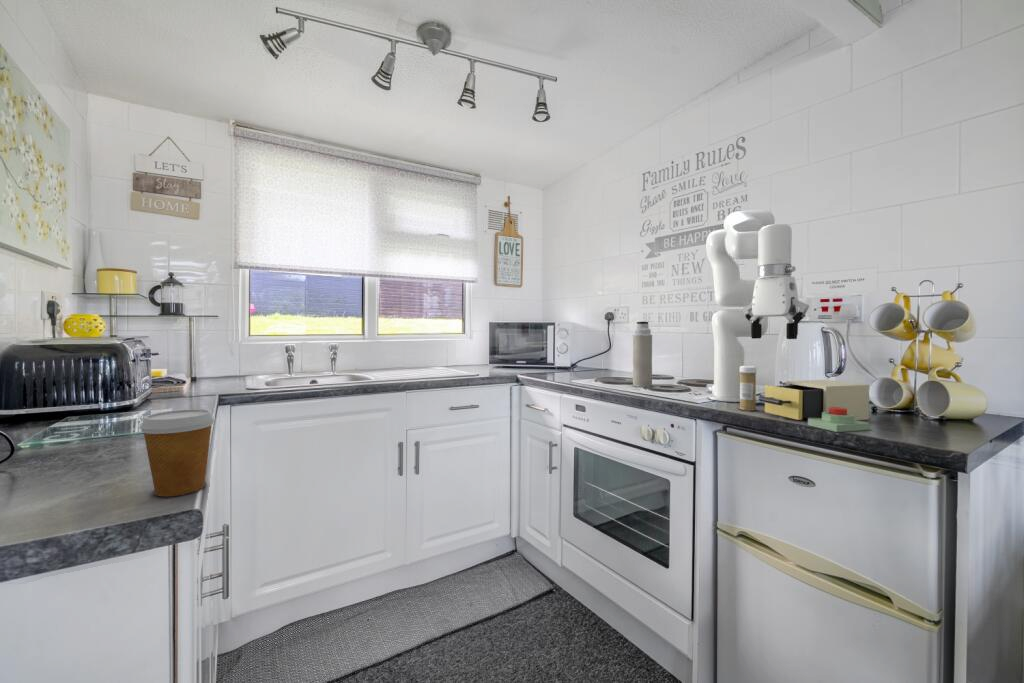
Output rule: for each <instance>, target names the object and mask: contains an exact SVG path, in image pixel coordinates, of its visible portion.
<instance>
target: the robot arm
mask: <svg viewBox="0 0 1024 683" xmlns="http://www.w3.org/2000/svg"><path fill="white" fill-rule="evenodd" d="M792 234H793V232H792V227H791V226H790V225H789V224H787V223H775V216H774V215H773V213H772V212H771V211H770V210H768V209H751V210H750V209H749V210H747V209H746V210H737V211H733V212H731V213H730V214H728V215H727V216H726V217H725V219H724V221H723V228H722V229H717V230H713V231H711V232H710V233H709V234H708V235H707V237H706V242H705V252H706V256H707V260H708V262H709V264H710V267H711V269H712V276H713V291H714V301H715V303H716V305H717V306H719V307H725V308H729V309H720V310H717V311H716V312H715V313H713V315H712V316H711V328H712V329H711V330H712V335H713V384H712V386H709V387H708V390H709V391H710V392H711V394H714V395H715V396H716V397H710V396H709V395H708V399H710V400H712V401H716V402H717V401H718V402H724V403H725V402H727V403H740V366H745V348H744V346H743V345H742V343H741V341H739V340H738V339H737V338H747V337H748V338H751V339H754V340H755V339H758V340H759V339H762V337H763V336H764V335H766V333H767V332H768V328H769V318H770V317H771V318H772V317H774V318H775V317H784V318H785V319H786V320H787V321H788V322H787V323H786V330H785V332H786V333H785V334H786V336H785V338H786V339H787V340H797V338H798V335H799V324H800V323H801V321H802V320H803V319H804V318H805V316H806V314H807V312H808V310H809V308H810V305H809V304H807V303H805V302H803V301H801V300H799V294H798V293H799V292H798V286H797V282H796V278H795V276H792V273H793V272H796V266H794V265H792V243H793V242H792V241H793V240H792V238H793V237H792V236H793V235H792ZM734 259H736V260H757V279H741V275H740V266H739V265H738V264H737V262H736V261H735V260H734ZM739 307H740V308H742V309H740V308H739ZM730 308H731V309H730ZM732 308H733V309H732ZM734 308H735V309H734Z"/></svg>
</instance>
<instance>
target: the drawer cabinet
mask: <svg viewBox="0 0 1024 683" xmlns="http://www.w3.org/2000/svg"><path fill="white" fill-rule="evenodd" d="M786 385H799V386H806V387H813V388H820V389H824V398H823V412H826V411H829V408H830V407H839V408H845V409H847V413H850V414H853V415H855V420H857V421H864V420H869V414H870V384H867V383H859V382H858V383H857V382H850V381H843V380H833V379H808V380H807V379H806V380H803V379H802V380H787V381H786ZM812 418H822V417H810V418H809V419H812Z"/></svg>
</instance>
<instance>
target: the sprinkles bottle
mask: <svg viewBox="0 0 1024 683" xmlns="http://www.w3.org/2000/svg"><path fill="white" fill-rule="evenodd" d="M756 376H757V366H752V365H744V366H740V402H739V409H740V410H741V411H747V412H754V411H756V410H757V407H756V405H757V404H756V402H757V401H756V400H757V389H756V388H757V384H756V383H757V377H756Z"/></svg>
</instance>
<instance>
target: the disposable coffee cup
mask: <svg viewBox="0 0 1024 683" xmlns="http://www.w3.org/2000/svg"><path fill="white" fill-rule="evenodd" d="M142 417H143V418H142V420H141V424H140V425H139V429H140V430H141V433H143V436H144V442H145V448H146V453H147V458H148V463H149V468H150V474H151V478H152V485H153V489H154V495H155V496H157V497H167V498H169V497H177V496H183V495H187V494H191V493H194V492H197V491H199V490H201V489H203V488H204V487H205V485H206V477H207V468H208V462H209V461H208V460H209V453H210V443H211V435H212V428H213V425H214V422H215V420H216V417H215V416H214V415H213V412H212V410H211V409H207V408H205V409H204V408H194V409H193V408H190V409H189V408H188V409H176V410H167V411H162V412H160V411H159V412H156V413H151V414H147V415H145V416H142Z"/></svg>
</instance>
